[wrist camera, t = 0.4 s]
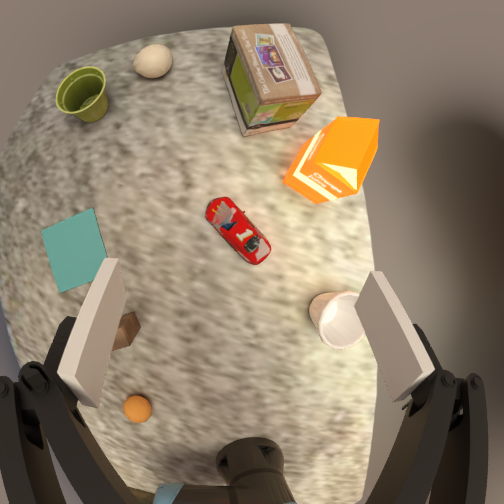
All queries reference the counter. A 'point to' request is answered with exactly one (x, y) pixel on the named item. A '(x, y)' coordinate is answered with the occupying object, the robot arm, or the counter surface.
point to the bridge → (126, 331)
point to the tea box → (268, 77)
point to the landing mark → (74, 250)
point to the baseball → (153, 61)
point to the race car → (238, 230)
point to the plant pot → (83, 94)
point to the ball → (137, 409)
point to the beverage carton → (143, 496)
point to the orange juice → (334, 160)
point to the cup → (337, 319)
